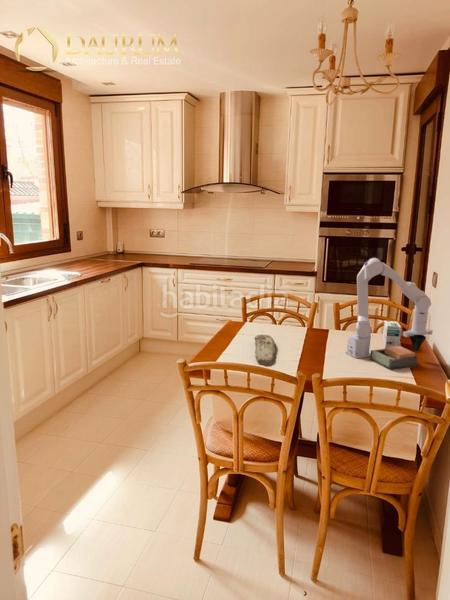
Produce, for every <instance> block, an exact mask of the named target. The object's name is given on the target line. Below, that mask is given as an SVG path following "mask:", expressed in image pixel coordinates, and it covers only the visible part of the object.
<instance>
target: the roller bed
mask: <svg viewBox="0 0 450 600" xmlns="http://www.w3.org/2000/svg"><path fill="white" fill-rule="evenodd" d="M384 352H385V348H380V349H372V350H370V352H369V353H370V357H369V360H370V361H372V362H375V364H378V365H379V366H381V367H383V368H385V369H387V370H389V371H395V370H401V369H403V370H404V369H409V368H416V367H417V366H418V358H419V357H417V356H414V357H408V358H400V359H396V358H394V357H392V356H390V355H388V354H386V353H384Z"/></svg>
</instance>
